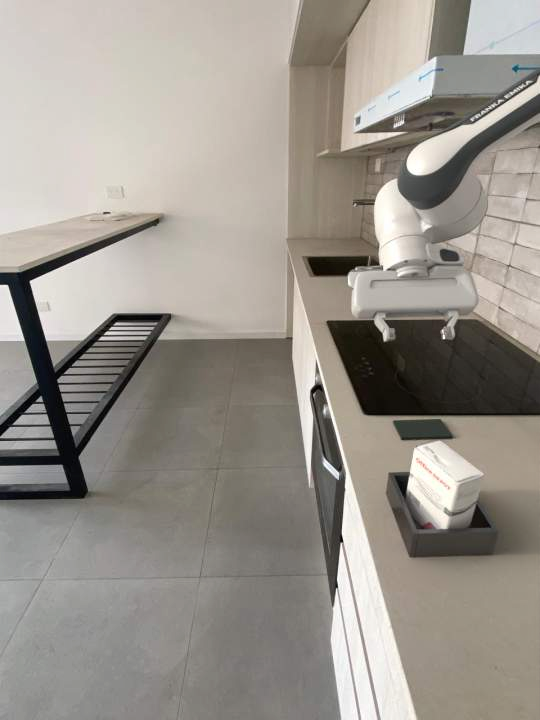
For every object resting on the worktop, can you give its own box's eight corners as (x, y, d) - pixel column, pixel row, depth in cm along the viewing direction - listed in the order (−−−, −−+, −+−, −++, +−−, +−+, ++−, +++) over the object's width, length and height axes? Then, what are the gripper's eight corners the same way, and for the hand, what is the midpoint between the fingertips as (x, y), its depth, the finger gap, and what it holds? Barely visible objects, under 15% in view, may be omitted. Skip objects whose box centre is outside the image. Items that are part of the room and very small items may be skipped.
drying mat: (440, 421, 83) (440, 418, 83) (452, 438, 77) (452, 436, 77) (392, 422, 83) (392, 420, 83) (401, 440, 77) (401, 437, 77)
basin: (455, 491, 65) (460, 470, 63) (492, 555, 54) (499, 531, 52) (385, 493, 65) (388, 472, 63) (409, 557, 54) (413, 533, 52)
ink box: (470, 538, 57) (487, 473, 51) (442, 550, 55) (457, 484, 50) (427, 496, 64) (438, 436, 59) (401, 506, 62) (411, 445, 57)
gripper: (349, 256, 65) (358, 333, 60) (474, 252, 65) (492, 329, 60) (343, 277, 71) (350, 348, 66) (457, 273, 71) (472, 345, 66)
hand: (419, 339), depth 63 cm, fingers open, 8 cm apart
